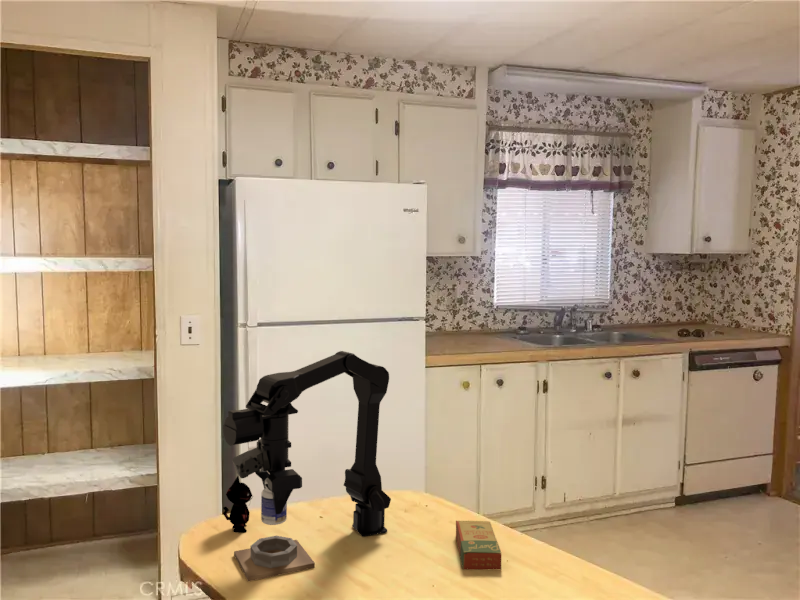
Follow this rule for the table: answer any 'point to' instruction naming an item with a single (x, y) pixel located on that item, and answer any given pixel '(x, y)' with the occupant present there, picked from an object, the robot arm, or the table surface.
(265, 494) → the pill bottle
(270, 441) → the robot arm
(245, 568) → the collar board
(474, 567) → the carton
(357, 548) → the table surface
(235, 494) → the cat figurine
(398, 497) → the table surface
